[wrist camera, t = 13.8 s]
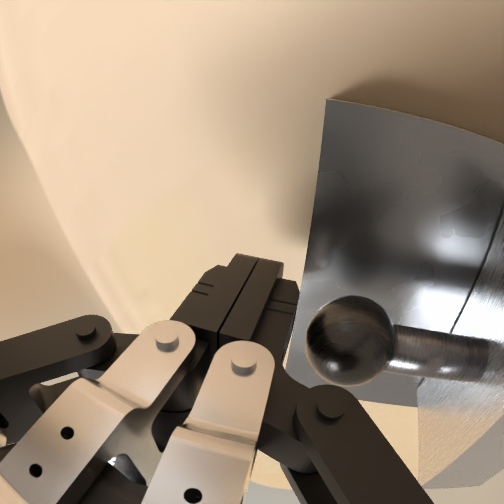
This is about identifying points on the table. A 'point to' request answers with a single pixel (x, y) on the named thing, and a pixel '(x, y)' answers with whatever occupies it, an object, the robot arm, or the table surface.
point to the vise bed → (397, 227)
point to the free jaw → (430, 372)
